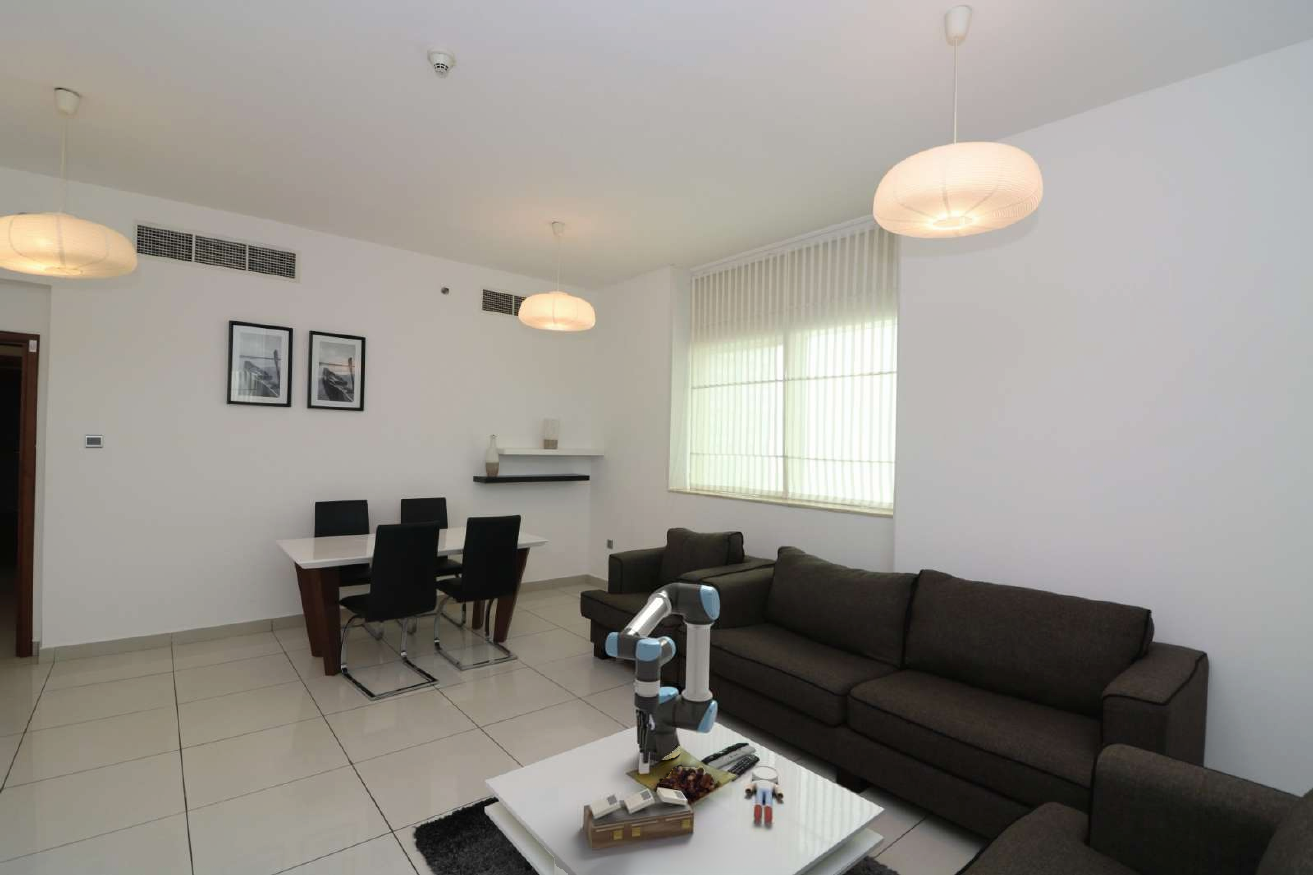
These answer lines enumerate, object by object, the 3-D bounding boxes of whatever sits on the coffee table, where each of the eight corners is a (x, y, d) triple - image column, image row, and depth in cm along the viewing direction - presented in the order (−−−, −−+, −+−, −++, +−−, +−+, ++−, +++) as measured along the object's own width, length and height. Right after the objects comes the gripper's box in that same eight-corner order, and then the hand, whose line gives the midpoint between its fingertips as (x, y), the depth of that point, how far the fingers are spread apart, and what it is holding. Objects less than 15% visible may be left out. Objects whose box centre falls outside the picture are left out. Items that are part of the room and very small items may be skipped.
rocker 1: (590, 808, 184) (589, 804, 184) (615, 797, 187) (614, 792, 187) (595, 819, 179) (593, 814, 179) (620, 807, 181) (619, 802, 181)
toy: (784, 807, 192) (783, 760, 221) (743, 802, 194) (748, 755, 224) (783, 826, 191) (783, 776, 221) (742, 820, 194) (747, 771, 223)
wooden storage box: (583, 826, 187) (584, 801, 187) (679, 811, 196) (680, 788, 197) (592, 850, 175) (593, 824, 175) (693, 833, 185) (694, 809, 185)
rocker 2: (656, 791, 191) (657, 787, 191) (679, 795, 193) (680, 791, 193) (662, 801, 186) (663, 796, 186) (686, 805, 188) (687, 800, 188)
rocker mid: (624, 804, 188) (623, 799, 188) (649, 792, 190) (647, 788, 190) (629, 814, 182) (628, 809, 182) (654, 802, 185) (653, 797, 185)
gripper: (628, 686, 192) (625, 764, 191) (642, 701, 180) (639, 784, 179) (651, 684, 195) (648, 761, 194) (666, 699, 183) (663, 781, 182)
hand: (643, 772), depth 186 cm, fingers closed
